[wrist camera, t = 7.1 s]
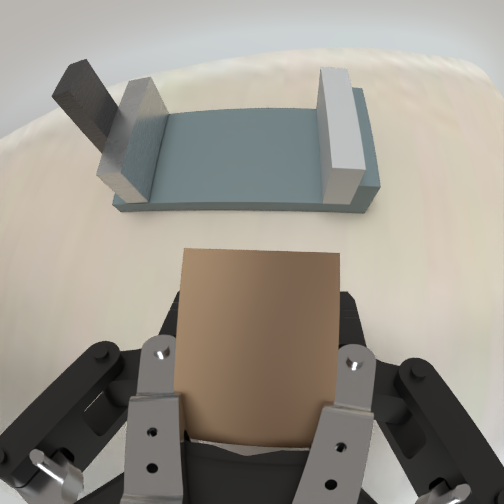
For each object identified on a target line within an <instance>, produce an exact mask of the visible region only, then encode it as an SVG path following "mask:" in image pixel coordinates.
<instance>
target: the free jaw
mask: <svg viewBox="0 0 504 504" xmlns="http://www.w3.org/2000/svg"><path fill="white" fill-rule="evenodd" d="M52 98H53V99H54V100H55V101H56V102H57V103H58V105H59V106H60V107H61V108H62V109H63V110H64V111H65V113H66V114H67V115H68V116H69V117H70V118H71V119H72V121H73V122H74V123H75V124H76V125H77V126H78V127H79V128H80V130H81V131H82V132H83V133H84V134H85V135H86V136H87V137H88V139H89V140H90V141H91V142H92V143H93V144H94V145H95V146H96V147H97V148H98V150H99V151H100V152H101V153H102V157H101V160H100V163H99V167H98V170H97V174H96V175H97V176H98V177H99V178H100V179H101V180H102V181H103V182H104V183H105V184H106V185H107V186H108V187H109V188H111V189H112V190H113V191H114V192H115V193H116V194H117V195H118V196H119V197H120V198H121V199H123V200H124V201H125V202H126V203H142V202H149V197H150V192H151V186H152V181H153V177H154V172H155V167H156V163H157V158H158V154H159V149H160V145H161V141H162V137H163V133H164V129H165V125H166V121H167V117H168V113H169V112H168V110H167V108H166V106H165V104H164V102H163V100H162V98H161V96H160V94H159V92H158V90H157V88H156V86H155V84H154V82H153V80H152V78H151V77H147V78H142V79H137V80H132V81H129V83H128V85H127V87H126V90H125V92H124V95H123V97H122V100H121V102H120V105H119V107H118V106H117V104H116V103H115V102H114V100H113V99H112V97H111V96H110V94H109V93H108V91H107V90H106V88H105V87H104V85H103V84H102V82H101V81H100V79H99V77H98V76H97V74H96V73H95V71H94V70H93V68H92V67H91V65H90V64H89V62H88V61H87V59H85V60H81V61H79V62H76V63H73V64H70V65H69V66H68V68H67V70H66V71H65V73H64V75H63V76H62V78H61V80H60V82H59V83H58V85H57V87H56V89H55V91H54V93H53V95H52Z"/></svg>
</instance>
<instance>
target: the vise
mask: <svg viewBox="0 0 504 504" xmlns="http://www.w3.org/2000/svg"><path fill="white" fill-rule="evenodd" d="M380 187H381V186H380V179H379V172H378V165H377V159H376V153H375V147H374V142H373V136H372V131H371V126H370V121H369V116H368V111H367V107H366V102H365V98H364V94H363V90H362V88H352V87H351V82H350V78H349V74H348V69H344V68H332V67H321V69H320V79H319V89H318V98H317V107H316V109H300V108H248V109H224V110H208V111H196V112H185V113H175V114H168V117H167V121H166V125H165V129H164V133H163V137H162V141H161V145H160V149H159V154H158V158H157V163H156V167H155V172H154V177H153V181H152V186H151V192H150V197H149V202H142V203H126V202H125V201H124V200H123V199H121V198H120V197H119V196H118V195H117V194H116V193H115V195H114V200H113V204H112V205H113V206H114V207H116V208H117V209H118V210H119V211H120V212H125V211H162V210H281V211H319V212H346V213H365V211H366V210H367V208H368V207H369V205H370V203H371V202H372V200H373V199H374V197H375V195H376V194H377V192H378V190H379V189H380Z"/></svg>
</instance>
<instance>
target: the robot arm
mask: <svg viewBox="0 0 504 504" xmlns="http://www.w3.org/2000/svg"><path fill="white" fill-rule="evenodd" d="M179 295H180V291H179V292H178V293H177V295H176V297H175V299H174V301H173V303H172V306H171V308H170V310H169V312H168V314H167V317H166V319H165V321H164V323H163V325H162V328H161V330H160V332H159V334H158V336H154V337H152V338H150V339H149V340H147V341H146V342H145V343H144V345H143V347H142V348H141V349H137V350H129V351H120V350H119V348H118V346H117V345H116V344H115V343H113V342H109V341H102V342H98V343H95V344H93V345H92V346H91V347H89V348H88V349H87V350H86V351H85V352H84V353H83V354H82V355H81V356H80V357H79V358H78V359H77V360H76V361H75V362H73V363H72V364H71V365H70V366H69V367H68V368H67V369H66V370H65V371H64V372H63V373H62V374H61V375H60V376H59V377H58V378H57V379H56V380H55V381H54V382H53V383H52V384H51V385H50V386H49V387H48V388H47V389H46V390H45V391H44V392H43V393H42V394H41V395H39V396H38V397H37V398H36V399H35V400H34V401H33V402H32V403H31V404H30V405H29V406H28V407H27V408H26V410H25V411H24V412H23V413H22V414H21V415H20V416H19V417H18V418H17V419H16V420H15V421H14V422H13V423H12V424H11V425H10V426H9V427H8V428H7V429H6V430H5V431H4V432H3V433H2V434H1V435H0V479H1V480H3V481H4V482H6V483H7V484H8V485H9V486H10V487H12V488H14V489H15V490H17V491H18V492H19V494H20V495H21V496H22V497H23V498H24V500H25V501H26V502H27V503H28V504H378V503H377V502H375V501H374V500H373V499H372V498H371V497H370V496H369V495H368V494H367V493H366V492H365V491H364V490H363V489H362V488H361V485H362V480H363V476H364V471H365V466H366V461H367V456H368V451H369V445H370V440H371V433H372V427H373V420H376V421H377V423H378V425H379V427H380V429H381V430H382V432H383V434H384V436H385V437H386V439H387V441H388V443H389V445H390V446H391V448H392V450H393V452H394V454H395V455H396V457H397V459H398V461H399V463H400V464H401V466H402V468H403V470H404V472H405V474H406V475H407V477H408V479H409V481H410V483H411V485H412V486H413V488H414V490H415V492H416V494H417V496H418V499H417V501H416V503H415V504H504V467H503V465H502V464H501V462H500V460H499V459H498V457H497V456H496V454H495V453H494V451H493V450H492V448H491V447H490V445H489V443H488V442H487V441H486V439H485V438H484V436H483V435H482V433H481V432H480V430H479V429H478V427H477V426H476V424H475V423H474V422H473V420H472V419H471V417H470V416H469V414H468V413H467V412H466V410H465V409H464V407H463V406H462V405H461V403H460V402H459V401H458V399H457V398H456V396H455V395H454V394H453V392H452V391H451V390H450V388H449V387H448V386H447V384H446V383H445V382H444V380H443V379H442V378H441V376H440V375H439V374H438V372H437V371H436V370H435V369H434V367H433V366H432V365H431V364H430V363H429V362H427V361H426V360H423V359H420V358H409V359H407V360H405V361H404V362H402V364H401V365H400V366H397V365H393V364H388V363H384V362H381V361H379V360H377V359H376V358H375V356H374V354H373V353H372V351H371V350H369V349H368V348H367V347H366V343H365V339H364V335H363V331H362V327H361V322H360V319H359V315H358V311H357V307H356V303H355V300H354V299H353V297H352V296H351V295H350V294H349V293H348V292H340V317H339V346H338V365H337V381H336V394H335V401H324V403H323V407H322V410H321V413H320V417H319V420H318V423H317V427H316V430H315V433H314V436H313V439H312V443H311V446H310V447H311V448H308V451H285V450H281V451H276V452H270V453H265V454H258V455H252V456H243V455H240V454H236V453H233V452H230V451H228V450H225V449H222V448H219V447H216V446H214V445H209V444H202V443H199V442H198V440H196V439H189V438H190V437H189V432H188V426H187V421H186V415H185V409H184V403H183V397H182V392H179V391H174V370H175V350H176V334H177V320H178V307H179ZM101 392H102V393H101ZM100 393H101V394H100ZM99 394H100V396H99V397H98V395H99ZM97 397H98V398H97ZM96 398H97V399H96ZM95 399H96V400H95ZM94 400H95V401H94ZM93 401H94V402H93ZM92 402H93V403H92ZM91 403H92V404H91ZM90 404H91V405H90ZM89 405H90V406H89ZM88 406H89V407H88ZM87 407H88V408H87ZM86 408H87V410H86ZM85 410H86V411H85ZM84 411H85V412H84ZM126 421H127V431H126V447H125V470H124V472H123V473H121V474H120V475H118V476H117V477H115V478H114V479H112V480H111V481H109V482H108V483H106V484H105V485H103V486H101V487H100V488H98V489H96V490H95V491H93V492H92V493H90V494H88V495H87V496H85V497H83V498H82V499H80V500H78V501H77V497H78V493H80V492H82V491H83V489H84V484H83V474H82V473H83V471H84V470H85V469H86V468H87V467H88V466H89V464H90V463H91V462H92V461H93V460H94V458H95V457H96V456H97V455H98V454H99V453H100V451H101V450H102V449H103V448H104V447H105V446H106V444H107V443H108V442H109V441H110V440H111V439H112V437H113V436H114V435H115V434H116V433H117V431H118V430H119V429H120V428H121V427H122V425H123V424H124V423H125V422H126Z"/></svg>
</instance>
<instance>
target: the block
mask: <svg viewBox="0 0 504 504" xmlns="http://www.w3.org/2000/svg"><path fill="white" fill-rule="evenodd" d="M339 317H340V253H322V252H291V251H259V250H226V249H193V248H184V254H183V263H182V273H181V284H180V295H179V307H178V320H177V334H176V350H175V370H174V391H179V392H182V397H183V403H184V409H185V415H186V421H187V426H188V432H189V437H190V438H189V439H196V440H202V441H210V442H217V443H226V444H236V445H247V446H262V447H288V448H311V447H310V446H311V443H312V439H313V436H314V433H315V430H316V427H317V423H318V420H319V417H320V413H321V410H322V407H323V403H324V401H335V394H336V381H337V365H338V346H339Z"/></svg>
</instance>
